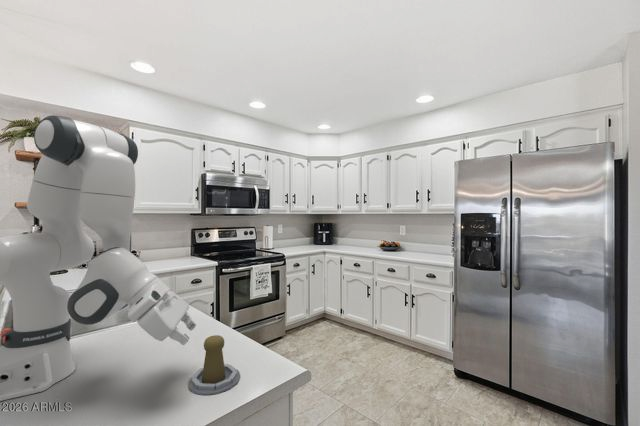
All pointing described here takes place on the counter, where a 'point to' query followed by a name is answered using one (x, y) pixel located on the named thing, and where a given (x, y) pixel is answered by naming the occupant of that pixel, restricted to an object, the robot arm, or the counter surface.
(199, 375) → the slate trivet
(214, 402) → the counter surface
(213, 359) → the olive brown pepper mill
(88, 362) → the counter surface
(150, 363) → the counter surface
